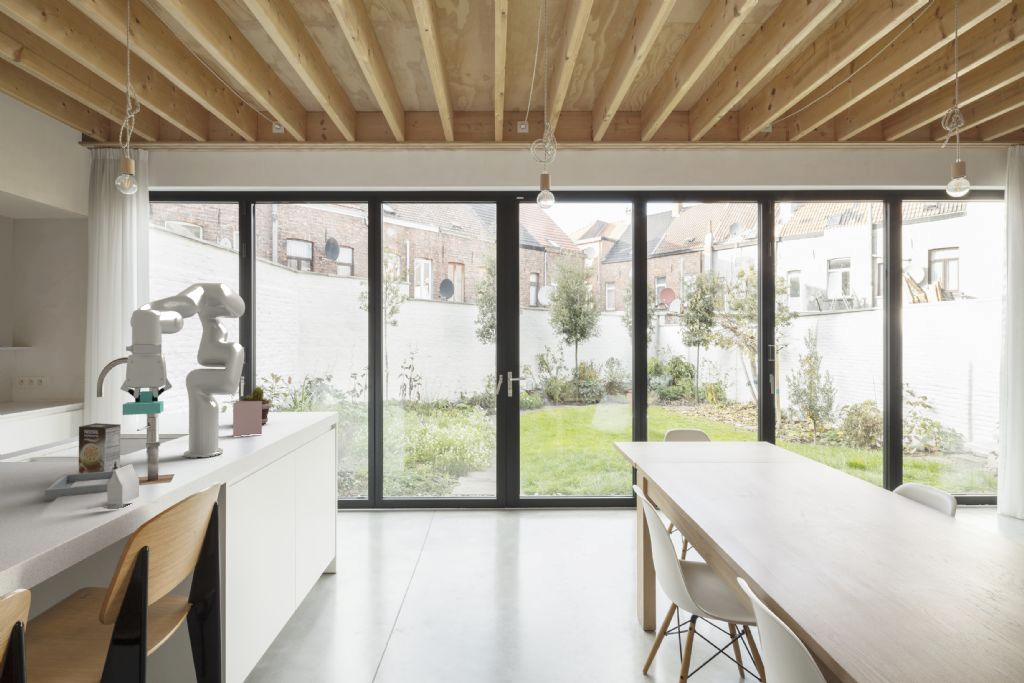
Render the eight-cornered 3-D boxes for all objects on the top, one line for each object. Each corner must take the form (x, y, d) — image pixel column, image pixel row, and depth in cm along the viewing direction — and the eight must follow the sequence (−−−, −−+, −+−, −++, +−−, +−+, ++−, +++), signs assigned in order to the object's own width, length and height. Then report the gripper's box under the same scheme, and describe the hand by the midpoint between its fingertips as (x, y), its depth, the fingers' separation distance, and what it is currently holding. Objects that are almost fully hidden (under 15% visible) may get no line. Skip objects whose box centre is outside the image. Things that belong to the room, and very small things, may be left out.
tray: (64, 485, 160) (64, 474, 160) (122, 480, 166) (122, 470, 166) (45, 501, 145) (45, 490, 145) (109, 495, 151) (109, 484, 151)
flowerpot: (232, 424, 266) (233, 383, 266) (265, 421, 277) (265, 381, 276) (242, 428, 256) (242, 385, 255) (276, 425, 266) (276, 384, 266)
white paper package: (138, 501, 147) (139, 463, 146) (122, 509, 140) (122, 470, 140) (124, 501, 146) (124, 463, 146) (107, 509, 140) (107, 470, 139)
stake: (135, 481, 165) (135, 440, 165) (174, 477, 169) (174, 438, 169) (129, 490, 156) (129, 446, 156) (170, 486, 160) (170, 444, 160)
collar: (129, 411, 167) (130, 391, 167) (164, 409, 171) (164, 390, 171) (122, 415, 155) (122, 393, 155) (160, 413, 159) (160, 392, 159)
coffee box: (76, 478, 167) (76, 426, 167) (94, 473, 174) (94, 422, 174) (104, 479, 166) (104, 427, 166) (121, 474, 173) (121, 423, 173)
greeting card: (262, 434, 241) (262, 400, 241) (255, 437, 234) (255, 402, 234) (236, 434, 241) (236, 400, 241) (228, 437, 234) (228, 402, 233)
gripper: (111, 350, 160) (111, 413, 160) (177, 350, 167) (176, 410, 167) (116, 349, 166) (116, 410, 166) (179, 349, 174) (178, 407, 174)
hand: (146, 409), depth 167 cm, fingers closed on collar, 3 cm apart
